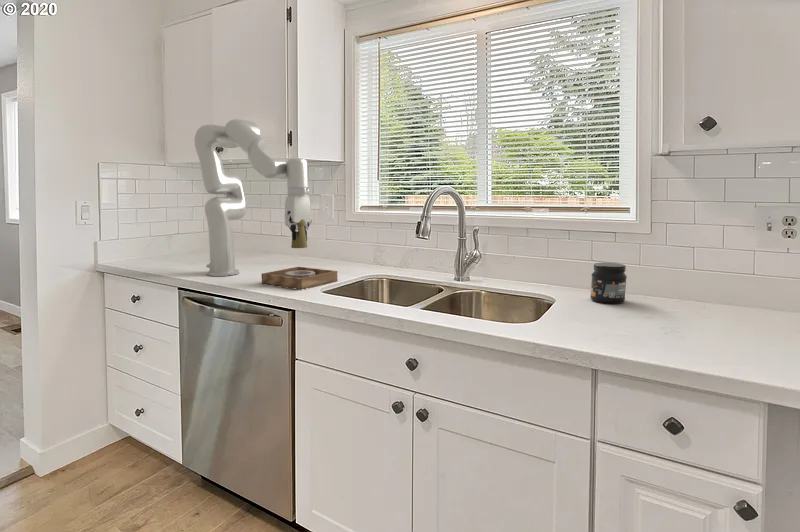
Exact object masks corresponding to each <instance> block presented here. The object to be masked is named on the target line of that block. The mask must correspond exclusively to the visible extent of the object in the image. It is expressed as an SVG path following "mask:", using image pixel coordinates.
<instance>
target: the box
mask: <svg viewBox="0 0 800 532" xmlns="http://www.w3.org/2000/svg"><path fill="white" fill-rule="evenodd" d="M335 282H336V283H337V282H338V270H333V269H331V270H330V269H322V268H316V267H315V268H313V267H307V266H305V267H304V266H294V267H289V268H283V269H278V270H274V271H269V272H263V273H261V285H264V284H267V285H266V286H271V285H274V286H273V287H278V286H281V287H280V288H285V287H288V288H287V289H292V288H296V289H295V290H298V289H304V290H307V289H306V288H308V289H311V288H316V287H319V286H320V287H321V286H324V285H327V284H332V283H335Z"/></svg>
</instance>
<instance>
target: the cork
mask: <svg viewBox="0 0 800 532" xmlns="http://www.w3.org/2000/svg"><path fill="white" fill-rule="evenodd" d="M292 223H293V221H292ZM305 224H306V222H305V220H304V219H302V220H300V222H299V223H297V226H298V232H299V239H298V234H297V232H296V240H293V239H292V238H291V247H290V248H291V249H305V248H308V240H307V241H306V235H305V228H304V226H305ZM294 226H295V225H294Z"/></svg>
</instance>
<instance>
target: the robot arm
mask: <svg viewBox="0 0 800 532" xmlns="http://www.w3.org/2000/svg"><path fill="white" fill-rule="evenodd" d="M193 142H194V148H195V152H196V154H197V156H198V160H199V165H200V170H201V175H202V181H203V186H204V189H205V191H206V192H207V193H208V194H211V195H225V196H216V197H212V198H209V199H208V200H207V201H206V202H205V204H204V213H205V217H206V222H207V230H208V240H209V241H208V242H209V243H208V245H209V263H208V264H206V265H205V266H206V268H208V269H209V270H207V272H206V275H207V276H209V277H210V276H211V277H226V276H227V277H229V275H230V276H235V274H236V275H238V274H239V273H240V270H239V269H236V263H235V262H236V261H235V260H236V259H235V245H234V244H235V243H234V242H235V241H234V240H235V239H234V238H235V237H234V230H233V226H232V224H231V223H230V221H235V220H240V219H242V218H244V217H245V215H246V214H247V203H246V198H245V193H244V186H243V183H242V179H241V177H240V176H239V174H237V173H236V172H235V171H233V170H225V169H224V164H223V159H222V156H221V155H220V154H219V152H218V151H217V149H216V148H226V149H235V148H240V149H241V150H242V151H243V152H244V153H245V154H246V155H247V159H248V162H249V164H250V166H251V167H252V168H253V169H254V170H255V171H256V172H257V173H259V174H260V175H261V176H263V177H264V178H266V179H271V180H273V179H274V180H275V179H277V180H278V179H279V180H286V186H287V188H286V189H287V196H286V198H285V201H284V202H285V203H284V221H285V223H284V224H285V226H286V227H288V228H289V230H290V232H291V240H292V239H293V240H296V232H297V234H298V239H299V232H298V226H297V223H299V222H300V220H302V219H304V220H305V222H306V224H305V226H304V228H305V235H306V241H307V242H308V230H309V227H310V226H311V225H312V223H313V221H312V207H311V200H310V196H309V180H308V177H309V174H308V161H307V160H306V159H305V158H301V157H300V158H299V157H298V158H297V157H296V158H294V157H293V158H292V157H291V158H280V157H270V156H269V155H267V154H266V153H265V152H264V150H265V148H266V141H265V139H264V138H263V137H262V132H261V128H260V127H259V125H258V124H257V123H256V122H254V121H250V120H245V119H244V120H243V119H238V118H237V119H231V120H229V121H227V123H226V124H225V126H224V125H218V124H204V125H202V126H200V127H199V128H198V129H197V130H196V132H195V134H194V141H193ZM292 221H293V223H292ZM294 225H295V226H294Z"/></svg>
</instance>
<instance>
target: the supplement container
mask: <svg viewBox="0 0 800 532" xmlns="http://www.w3.org/2000/svg"><path fill="white" fill-rule="evenodd" d="M626 268H627V266H626V265H625V264H623V263H618V262H617V263H616V262H595V263H594V264H593V272H592V273H591V286H590V300H591V301H593V302H595V303H599V304H605V305H618V304H619V305H620V304H623V303H624V302H625V301H626V286H627V279H628V276H627V274H626V273H625V272H626V271H627V269H626Z"/></svg>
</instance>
